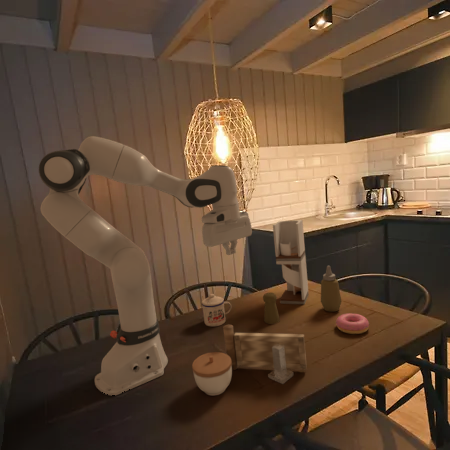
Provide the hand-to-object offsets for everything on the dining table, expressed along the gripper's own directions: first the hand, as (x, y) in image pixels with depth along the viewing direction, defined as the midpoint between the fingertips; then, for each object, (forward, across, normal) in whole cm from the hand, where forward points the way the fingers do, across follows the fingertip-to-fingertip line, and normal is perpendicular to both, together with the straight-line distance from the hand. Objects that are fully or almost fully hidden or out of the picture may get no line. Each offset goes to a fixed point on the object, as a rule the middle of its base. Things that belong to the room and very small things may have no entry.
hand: (231, 254), depth 110 cm
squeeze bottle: (+31, -39, +14) cm, 52 cm away
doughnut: (+32, -28, +28) cm, 50 cm away
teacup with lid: (+31, -6, -18) cm, 37 cm away
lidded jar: (+31, +24, +13) cm, 41 cm away
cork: (+31, -18, 0) cm, 36 cm away
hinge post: (+31, +14, +10) cm, 35 cm away
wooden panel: (+30, +8, +20) cm, 37 cm away
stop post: (+31, +9, +24) cm, 40 cm away
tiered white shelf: (+31, -41, -5) cm, 52 cm away
